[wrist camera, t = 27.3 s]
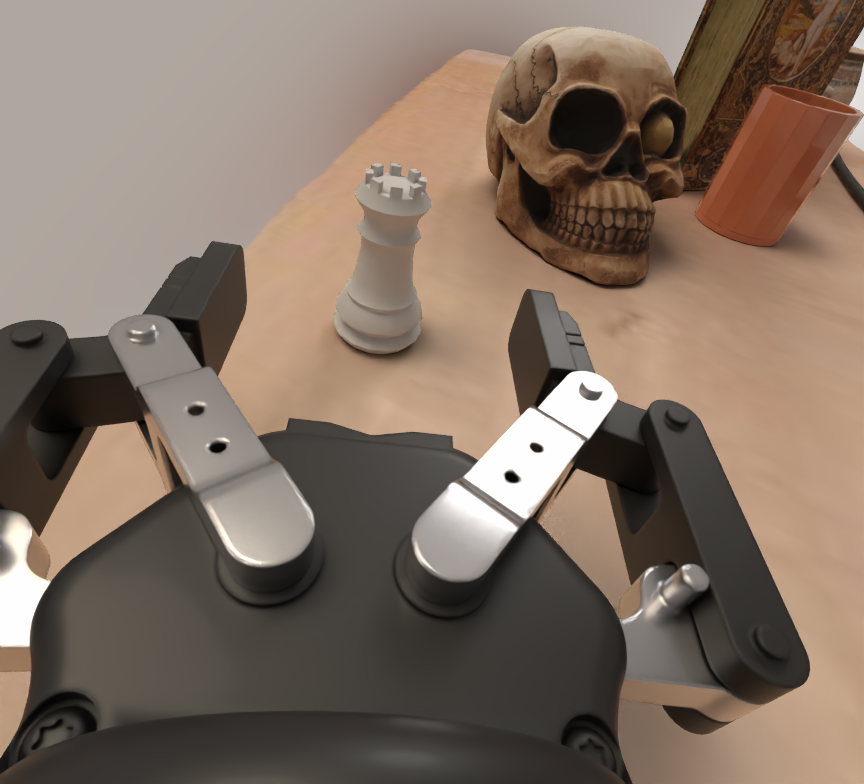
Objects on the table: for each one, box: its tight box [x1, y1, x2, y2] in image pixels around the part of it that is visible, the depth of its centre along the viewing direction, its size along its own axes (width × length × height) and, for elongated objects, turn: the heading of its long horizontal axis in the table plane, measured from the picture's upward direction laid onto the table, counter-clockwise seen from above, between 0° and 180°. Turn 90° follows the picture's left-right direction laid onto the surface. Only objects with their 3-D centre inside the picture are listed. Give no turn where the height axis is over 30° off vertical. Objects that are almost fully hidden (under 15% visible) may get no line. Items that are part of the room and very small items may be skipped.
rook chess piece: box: [333, 163, 431, 354], centre depth 24 cm, size 4×4×8 cm
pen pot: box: [695, 84, 864, 246], centre depth 44 cm, size 7×7×10 cm
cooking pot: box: [822, 46, 864, 105], centre depth 72 cm, size 25×19×12 cm
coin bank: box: [486, 26, 688, 285], centre depth 38 cm, size 16×17×13 cm
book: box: [674, 0, 864, 190], centre depth 48 cm, size 16×6×25 cm, turn 116°
